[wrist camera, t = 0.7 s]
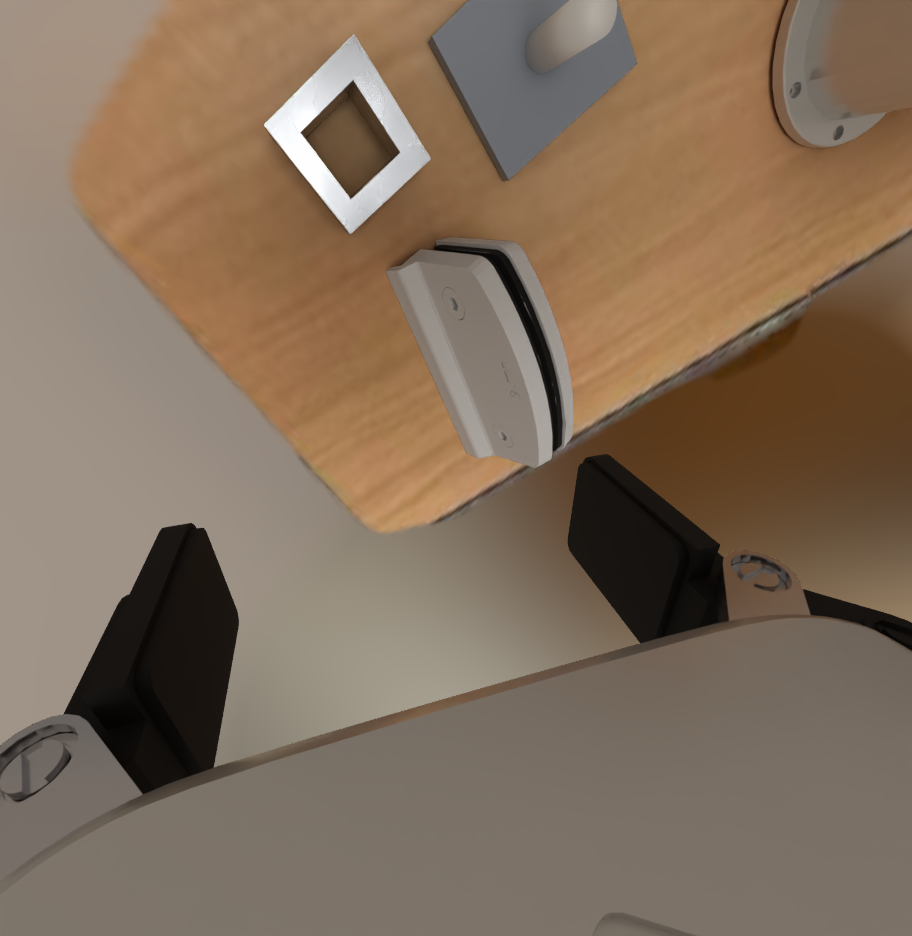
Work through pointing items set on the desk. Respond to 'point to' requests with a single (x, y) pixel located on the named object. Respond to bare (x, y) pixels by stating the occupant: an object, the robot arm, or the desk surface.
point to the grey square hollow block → (379, 109)
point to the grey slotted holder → (490, 346)
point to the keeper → (530, 68)
